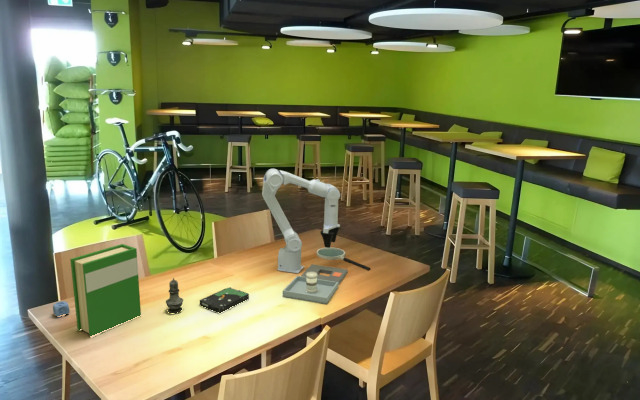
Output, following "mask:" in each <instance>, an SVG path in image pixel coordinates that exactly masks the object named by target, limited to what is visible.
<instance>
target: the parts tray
mask: <svg viewBox="0 0 640 400" xmlns="http://www.w3.org/2000/svg"><path fill="white" fill-rule="evenodd" d="M338 289H339V285H338V282H334V281H328V280H322V279H317V292H316V293H307V292H306V277H302V276H301V275H296V276H295V278H293V279H292V280H291V281H290V282H289V284H287V285H286V286H285V288H284V289H283V290H282V298H286V299H293V300H298V301H305V302H311V303H316V304H320V305H321V304H322V305H328V304H329V302H330V301H331V300H332V298H333V296H334V295H335V293H336V292H337V290H338Z"/></svg>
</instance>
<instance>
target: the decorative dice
mask: <svg viewBox="0 0 640 400" xmlns="http://www.w3.org/2000/svg"><path fill="white" fill-rule="evenodd" d="M52 311H53V315H54V314H55V315H56V316H60V315H63V314H68V313H69V314H70V306H69V303H68V302H67V301H65V300H64V301H61V300H60V301H57V302H56V303H54V304H53V305H52ZM69 314H68V315H69ZM55 315H54V316H55Z"/></svg>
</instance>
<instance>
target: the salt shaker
mask: <svg viewBox="0 0 640 400" xmlns="http://www.w3.org/2000/svg"><path fill="white" fill-rule="evenodd" d="M179 292H180V289H179V282H178V280H176V279H175V278H174V277H173V278H172V280H170V281H169V289H168V293H169V298H168V299H166V300H165V304H166V306H167V308H168V309H167V310H168V312H169V313H177V312H180V311H181V310H182V308H183V307H182V305H183V302H184V299H183V297H180V295H179ZM168 312H167V313H168ZM169 313H168V314H169ZM180 313H181V312H180Z"/></svg>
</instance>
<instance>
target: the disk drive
mask: <svg viewBox="0 0 640 400" xmlns="http://www.w3.org/2000/svg"><path fill="white" fill-rule="evenodd" d="M247 299H248V300H249V299H250V294H249V293H248V292H246V291H243V290H240V289H239V290H238V289H235V288H232V287H227V288H224V289H222V290H219V291H217V292H215V293H212V294H210V295H208V296H206V297H203V298H201V299H199V306H200V305H201V306H203V307H202V308H204V307H206V308H208V309H207V310H209V309H211V310H213V311H216V312H219V313H221V312H223V311H225V310H227V309H228V310H230V309H229V308H230V307H232V306H234V307H236V306H238V305H240V304H242V303H244V302H243V301H245V300H246V301H248V300H247ZM246 301H245V302H246ZM241 302H242V303H241ZM239 303H240V304H239ZM237 304H238V305H237ZM235 305H236V306H235ZM201 306H200V307H201ZM206 308H205V309H206ZM232 308H233V307H232ZM211 310H210V311H211ZM228 310H227V311H228ZM213 311H212V312H213ZM216 312H215V313H216ZM225 312H226V311H225ZM223 313H224V312H223ZM221 314H222V313H221Z"/></svg>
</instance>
